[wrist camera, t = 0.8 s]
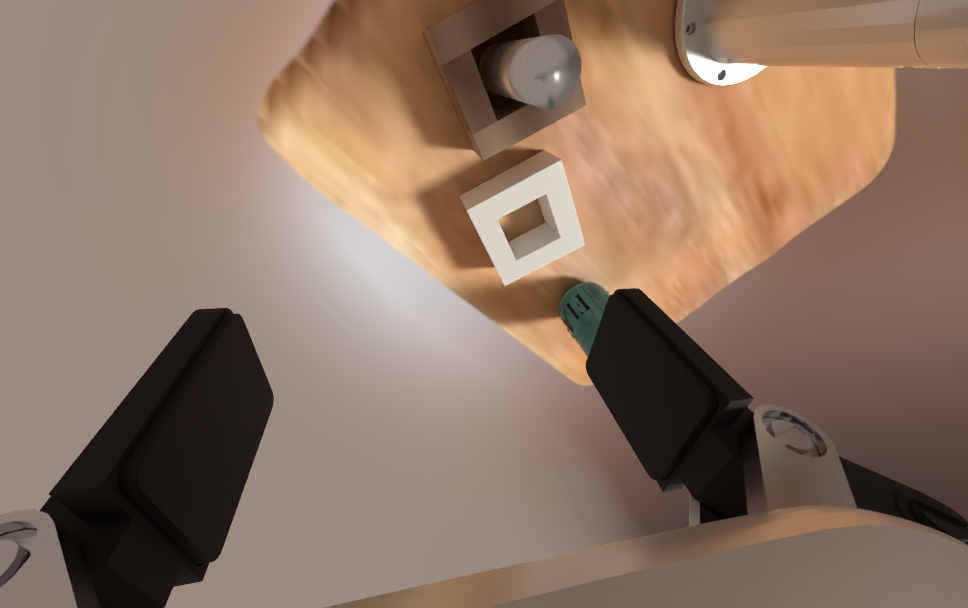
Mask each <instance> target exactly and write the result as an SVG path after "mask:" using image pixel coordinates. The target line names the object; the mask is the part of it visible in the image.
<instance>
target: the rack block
mask: <svg viewBox="0 0 968 608" xmlns="http://www.w3.org/2000/svg"><path fill="white" fill-rule="evenodd" d="M459 197H460V199H461V201H462V203H463V205H464V207H465V209H466V211H467V213H468V215H469V217H470V219H471V221H472V223H473V225H474V227H475V229H476V231H477V233H478V235H479V237H480V239H481V241H482V243H483V244H484V246H485V248H486V250H487V252H488V254H489V256H490V258H491V260H492V262H493V264H494V266H495V268H496V270H497V272H498V274H499V276H500V278H501V280H502V282H503V283H504V285H505V286H506V285H508V284H510V283H512V282H514V281H516V280H518V279H520V278H522V277H524V276H526V275H528V274H530V273H531V272H533V271H535V270H537V269H539V268H541V267H543V266H545V265H547V264H549V263H551V262H553V261H555V260H557V259H559V258H561V257H563V256H565V255H567V254H568V253H570V252H572V251H574V250H576V249H578V248H580V247H582V246H584V245H585V242H584V238H583V235H582V231H581V228H580V224H579V221H578V217H577V213H576V210H575V206H574V203H573V199H572V196H571V192H570V188H569V185H568V181H567V178H566V174H565V171H564V167H563V163H562V160H561V159H559V158H557V157H556V156H554V155H552V154H550V153H548V152H547V151H545V150H543V151H541V152H540V153H538V154H536V155H534V156H532V157H530V158H528V159H527V160H525V161H523V162H521V163H519V164H517V165H515V166H514V167H512V168H510V169H508V170H506V171H504V172H503V173H501V174H499V175H497V176H495V177H493V178H491V179H490V180H488V181H486V182H484V183H482V184H480V185H478V186H477V187H475V188H473V189H471V190H469V191H467V192H465V193H464V194H462V195H460V196H459ZM536 199H537V200H538V202H539V205H540V208H541V211H542V214H543V217H544V219H545V223H543V224H541V225H539V226H537V227H535V228H534V229H532V230H530V231H528V232H526V233H524V234H522V235H520V236H518V237H516V238H514V239H513V240H511V241H509V242H508V241H507V239H506V237H505V234H504V232H503V230H502V228H501V226H500V223H499V221H498V219H500V218H502V217H503V216H505V215H507V214H509V213H511V212H513V211H515V210H517V209H519V208H520V207H522V206H524V205H526V204H528V203H530V202H532V201H534V200H536Z"/></svg>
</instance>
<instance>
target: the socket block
mask: <svg viewBox="0 0 968 608" xmlns="http://www.w3.org/2000/svg"><path fill="white" fill-rule="evenodd" d="M516 23H518V26H519V30H520V33H521V37H522V39H527V38H533V37H540V36H546V35H553V34H559V35H563V36H565V37H567V38H569V39H570V40H571V41H572V37H571V32H570V28H569V23H568V18H567V13H566V9H565V4H564V0H476V1H474V2H473V3H471V4H469V5H468V6H466V7H464V8H462V9H461V10H459V11H457V12H456V13H454V14H452V15H450V16H449V17H447V18H445V19H444V20H442V21H440V22H438V23H437V24H435V25H433V26H432V27H430V28H428V29H427V30H425V31H424V32H423V35H424V38H425V40H426V42H427V44H428V47H429V49H430V51H431V54H432V56H433V58H434V60H435V63H436V65H437V67H438V70H439V72H440V74H441V77H442V79H443V81H444V83H445V86H446V88H447V90H448V93H449V95H450V97H451V99H452V102H453V104H454V106H455V109H456V111H457V113H458V116H459V118H460V120H461V122H462V125H463V127H464V129H465V132H466V134H467V136H468V138H469V141H470V143H471V145H472V148H473V150H474V151H475V152H476V153H477V154H478V155H479V156H480V157H481V158H482V159H483V160H486V159H488V158H490V157H492V156H493V155H495V154H497V153H499V152H501V151H503V150H505V149H506V148H508V147H510V146H512V145H514V144H516V143H517V142H519V141H521V140H523V139H525V138H527V137H528V136H530V135H532V134H534V133H536V132H538V131H539V130H541V129H543V128H545V127H547V126H549V125H550V124H552V123H554V122H556V121H558V120H560V119H561V118H563V117H565V116H567V115H569V114H571V113H572V112H574V111H576V110H578V109H580V108H582V107H583V106H585V105H586V103H585V98H584V93H583V89H582V84H581V79H579V83H578V85H577V88H576V90H575V91H574V93H573V95H572V96H571V97H570V98H569V99H568V100H567V101H566V102H565V103H564V104H562V105H561V106H558V107H556V108H552V109H545V108H541V107H537V106H534V105H531V104H527V103H524V102H521V101H517V100H514V99H513V100H511V101H509V102H507V103H506V104H504V105H502V106H500V107H498V108H497V109H495V110H493V108H492V106H491V103H490V100H489V98H488V95H487V92H486V90H485V87H484V84H483V82H482V79H481V76H480V74H479V71H478V68H477V66H476V63H475V60H474V58H473V55H472V52H471V50H470V49H472V48H474V47H476V46H477V45H479V44H481V43H483V42H484V41H486V40H488V39H490V38H491V37H493V36H495V35H497V34H498V33H500V32H502V31H504V30H505V29H507V28H509V27H511V26H512V25H514V24H516Z"/></svg>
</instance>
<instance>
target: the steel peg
mask: <svg viewBox="0 0 968 608" xmlns="http://www.w3.org/2000/svg"><path fill="white" fill-rule="evenodd" d="M479 74H480V76H481V79H482V82H483V84H484V86H485V88H486V89H487V90H488V91H490V92H492V93H494V94H497V95H501V96H504V97H507V98H511V99H514V100H517V101H521V102H524V103H527V104H531V105H534V106H537V107H541V108H545V109H552V108H556V107H558V106H561V105H562V104H564V103H565V102H566V101H567V100H568V99H569V98H570V97H571V96H572V95H573V93H574V91H575V90H576V88H577V85H578V83H579V79H580V75H581V59H580V55H579V52H578V49H577V48H576V46H575V44H574V43H573V42H572V41H571V40H570V39H569V38H567V37H565V36H563V35H559V34H553V35H546V36H540V37H533V38H527V39H521V40H515V41H509V42H502V43H497V44H494V45H491V46H490V47H489V48H488V49H487V50H486V51H485V52H484V54H483V55H482V58H481V60H480V65H479Z"/></svg>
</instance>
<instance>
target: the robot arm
mask: <svg viewBox="0 0 968 608" xmlns="http://www.w3.org/2000/svg"><path fill="white" fill-rule="evenodd" d="M675 40H676V46H677V51H678V55H679V57H680V60H681V62H682V65H683V66H684V68H685V69H686V71H687V72H688V73H689V75H690V76H692V77H693V78H694V79H696V80H697V81H698V82H701V83H704V84H706V85H713V86H727V85H733V84H736V83H740V82H743V81H745V80H746V79H748V78H750V77H752V76H754V75H756V74H757V73H758V72H760V71H761V70H762V69H764V68H765V67H766V66H808V67H885V68H968V0H678V1H677V8H676V16H675ZM586 370H587V373H588V375H589V377H590V379H591V380H592V382H593V384H594V385H595V387H596V389H597V390H598V392H599V394H600V395H601V397H602V399H603V400H604V402H605V404H606V405H607V407H608V409H609V410H610V412H611V414H612V415H613V417H614V419H615V420H616V422H617V424H618V425H619V427H620V429H621V430H622V432H623V433H624V435H625V437H626V439H627V440H628V442H629V444H630V445H631V447H632V449H633V450H634V452H635V453H636V455H637V457H638V459H639V460H640V462H641V463H642V465H643V467H644V469H645V470H646V472H647V473H648V475H649V476H650V477H651V478H652V479H654V480H656V481H657V482H658V484H659V486H660V487H661V489H662V491H663V492H665V491H671V490H675V489H681V488H682V487H683V486H684V485H685V486H686V487H687V489H688V490H689V492H690V520H689V527H685V528H681V529H676V530H671V531H667V532H662V533H658V534H653V535H648V536H644V537H639V538H635V539H630V540H626V541H621V542H616V543H611V544H607V545H602V546H598V547H593V548H589V549H584V550H580V551H575V552H571V553H566V554H561V555H558V556H553V557H548V558H544V559H539V560H534V561H530V562H525V563H521V564H517V565H512V566H507V567H503V568H499V569H494V570H489V571H485V572H481V573H476V574H471V575H467V576H463V577H458V578H454V579H449V580H444V581H440V582H435V583H431V584H426V585H422V586H418V587H414V588H409V589H405V590H400V591H396V592H392V593H387V594H382V595H378V596H374V597H369V598H365V599H360V600H356V601H351V602H347V603H343V604H339V605H334V606H329V607H325V608H968V522H967V521H966V520H965V519H964V518H963V517H962V516H960V515H959V514H958V513H957V512H955V511H954V510H953V509H951V508H950V507H948V506H946V505H945V504H943V503H941V502H939V501H937V500H935V499H933V498H931V497H929V496H927V495H925V494H923V493H921V492H919V491H917V490H915V489H912V488H910V487H908V486H905V485H903V484H901V483H899V482H896V481H894V480H892V479H890V478H887V477H885V476H883V475H880V474H878V473H876V472H873V471H871V470H869V469H867V468H864V467H862V466H860V465H858V464H855V463H853V462H851V461H848V460H846V459H844V458H841V457H839V456H838V454H837V451H836V448H835V447H834V445H833V443H832V441H831V440H830V438H829V437H828V436H827V435H826V434H825V433H824V432H823V431H822V430H821V429H820V428H819V427H817V426H816V425H815V424H814V423H813V422H811V421H810V420H808V419H806V418H805V417H803V416H801V415H800V414H798V413H796V412H794V411H791V410H789V409H787V408H783V407H780V406H776V405H763V406H759V407H758V408H757V409H755V411H754V412H751V411H750V409H748V407H747V406H748V405H749V404H750V402H751V401H752V400H753V397H752V396H751V395H750V394H749V393H747V391H746V390H745V389H743V388H742V387H741V386H740V385H739V384H738V383H737V382H736V381H735V380H734V379H733V378H732V377H731V376H730V375H729V374H728V373H727V372H726V371H725V370H724V369H723V368H722V367H721V366H720V365H718V364H717V363H716V362H715V361H714V360H713V359H712V358H711V357H710V356H709V355H708V354H707V353H706V352H705V351H704V350H703V349H702V348H701V347H700V346H699V345H698V344H696V343H695V342H694V341H693V340H692V339H691V338H690V337H689V336H688V335H687V334H686V333H685V332H684V331H683V330H682V329H681V328H680V327H679V326H678V325H677V324H676V323H675V322H674V321H673V320H671V319H670V318H669V317H668V316H667V315H666V314H665V313H664V312H663V311H662V310H661V309H660V308H659V307H658V306H657V305H656V304H655V303H654V302H653V301H652V300H651V299H650V298H648V297H647V296H646V295H645V294H644V293H643V292H642V291H641V290H640V289H636V288H633V289H618V290H616V291H615V292H614V294H613V295H611V296H610V297H609V298H608V301H607V304H606V307H605V309H604V312H603V315H602V318H601V321H600V324H599V327H598V330H597V333H596V335H595V338H594V341H593V344H592V347H591V350H590V353H589V356H588V359H587V361H586ZM273 400H274V397H273V392H272V390H271V387H270V384H269V382H268V379H267V377H266V375H265V372H264V370H263V367H262V365H261V362H260V360H259V358H258V355H257V352H256V350H255V347H254V345H253V343H252V340H251V338H250V335H249V333H248V330H247V328H246V325H245V323H244V320H243V318H242V316H241V315H239V314H233V312H232V311H231V310H230V309H228V308H219V309H217V308H216V309H199V310H196V311H194V312H193V313H192V314H191V316H190V317H189V318H188V320H187V321H186V322H185V323H184V324H183V326H182V327H181V328H180V329H179V331H178V332H177V333H176V335H175V336H174V337H173V338H172V339H171V341H170V342H169V343H168V345H167V346H166V347H165V348H164V350H163V351H162V352H161V353H160V355H159V356H158V357H157V358H156V360H155V361H154V362H153V363H152V365H151V366H150V367H149V368H148V370H147V371H146V372H145V373H144V375H143V376H142V377H141V378H140V380H139V381H138V382H137V384H136V385H135V386H134V387H133V389H132V390H131V391H130V392H129V394H128V395H127V396H126V397H125V399H124V400H123V401H122V402H121V404H120V405H119V406H118V407H117V409H116V410H115V411H114V412H113V414H112V415H111V416H110V417H109V419H108V420H107V421H106V422H105V424H104V425H103V426H102V428H101V429H100V430H99V431H98V433H97V434H96V435H95V436H94V438H93V439H92V440H91V441H90V443H89V444H88V445H87V446H86V448H85V449H84V450H83V451H82V453H81V454H80V455H79V456H78V458H77V459H76V460H75V461H74V463H73V464H72V465H71V466H70V468H69V469H68V470H67V472H66V473H65V474H64V475H63V477H62V478H61V479H60V480H59V482H58V483H57V484H56V485H55V487H54V488H53V489H52V490H51V492H50V493H49V495H51V497H50V498H49V499H48V501H47V502H46V503H45V505H44V506H43V507H42V508H41V510H40V511H38V510H21V511H14V512H10V513H7V514H3V515H0V608H164V607H165V605H166V602H167V600H168V598H169V596H170V593H171V591H172V589H173V587H175V586H180V585H185V584H190V583H195V582H200V581H203V578H204V575H205V573H206V570H207V567H208V565H209V562H213V561H215V560H216V559H217V558H218V556H219V555H220V553H221V551H222V548H223V546H224V543H225V540H226V537H227V534H228V532H229V529H230V526H231V523H232V520H233V517H234V515H235V512H236V509H237V506H238V503H239V500H240V498H241V495H242V492H243V489H244V486H245V484H246V481H247V478H248V475H249V472H250V469H251V467H252V464H253V461H254V458H255V455H256V452H257V450H258V447H259V444H260V441H261V438H262V436H263V433H264V430H265V427H266V424H267V421H268V418H269V416H270V413H271V410H272V407H273Z"/></svg>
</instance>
